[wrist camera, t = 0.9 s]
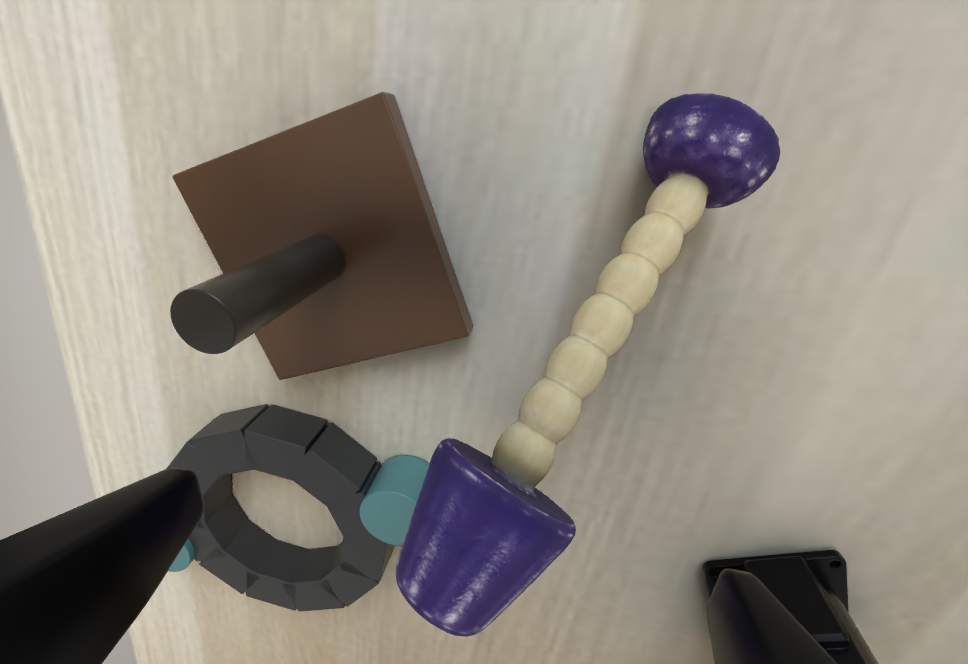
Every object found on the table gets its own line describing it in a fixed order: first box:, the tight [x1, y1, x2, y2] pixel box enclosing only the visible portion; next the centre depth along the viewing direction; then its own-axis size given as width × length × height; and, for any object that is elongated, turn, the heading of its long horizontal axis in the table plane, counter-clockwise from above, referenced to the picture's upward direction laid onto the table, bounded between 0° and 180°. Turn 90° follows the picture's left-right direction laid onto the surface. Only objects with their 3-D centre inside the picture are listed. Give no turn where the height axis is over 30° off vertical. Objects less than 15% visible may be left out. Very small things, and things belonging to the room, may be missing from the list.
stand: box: [170, 92, 473, 380], centre depth 17 cm, size 10×10×8 cm
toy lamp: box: [396, 93, 780, 636], centre depth 14 cm, size 5×5×17 cm
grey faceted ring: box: [167, 404, 429, 611], centre depth 26 cm, size 13×19×3 cm
